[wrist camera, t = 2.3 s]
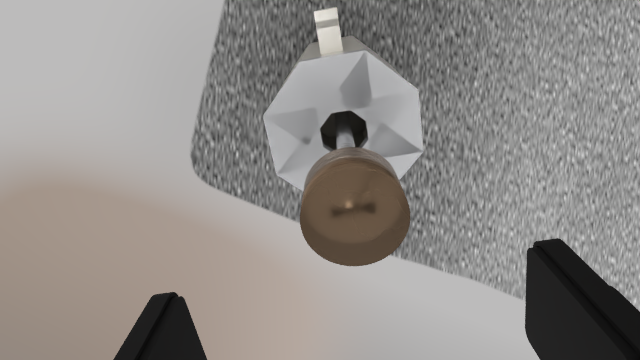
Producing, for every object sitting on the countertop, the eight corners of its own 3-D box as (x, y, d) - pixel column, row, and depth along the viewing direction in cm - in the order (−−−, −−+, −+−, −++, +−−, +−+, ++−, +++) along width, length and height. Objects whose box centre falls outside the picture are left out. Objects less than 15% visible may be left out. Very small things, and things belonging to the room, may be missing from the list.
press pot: (271, 18, 34) (241, 26, 22) (381, -3, 33) (411, -6, 21) (298, 148, 38) (285, 211, 27) (395, 132, 38) (426, 191, 26)
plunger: (310, 85, 30) (290, 179, 14) (363, 76, 30) (404, 160, 14) (319, 136, 32) (310, 272, 16) (370, 128, 31) (414, 258, 15)
